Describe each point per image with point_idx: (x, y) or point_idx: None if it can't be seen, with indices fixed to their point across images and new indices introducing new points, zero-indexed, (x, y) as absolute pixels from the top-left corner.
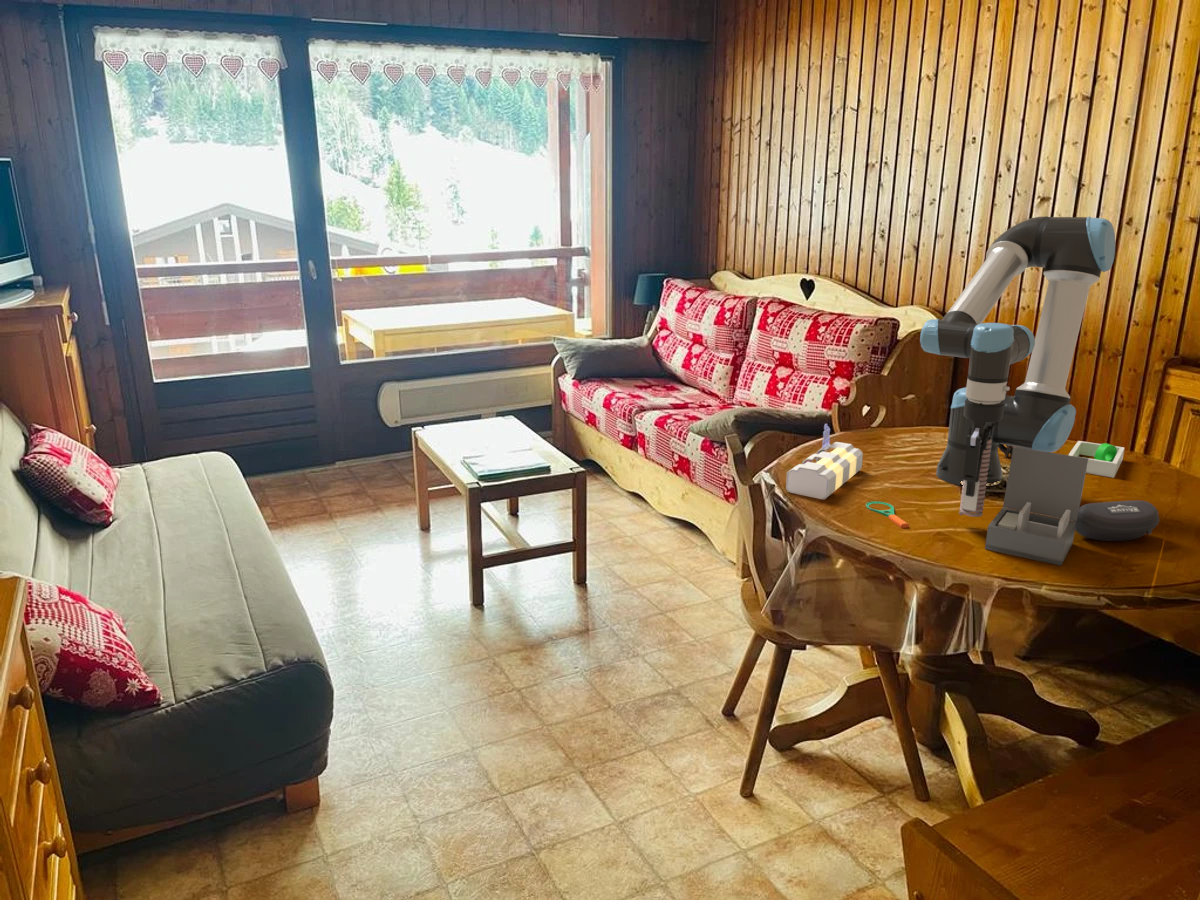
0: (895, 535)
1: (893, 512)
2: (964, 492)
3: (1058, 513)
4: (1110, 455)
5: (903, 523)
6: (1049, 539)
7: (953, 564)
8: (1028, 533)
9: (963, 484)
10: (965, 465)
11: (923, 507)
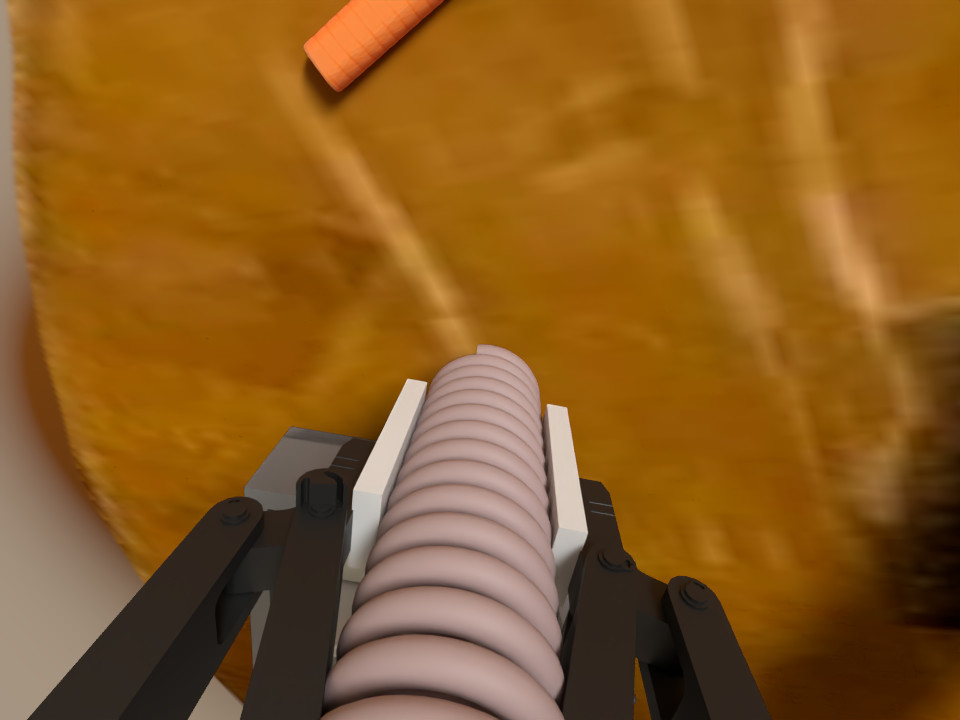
0: (204, 37)
1: None
2: (381, 433)
3: None
4: None
5: (309, 57)
6: (254, 652)
7: (65, 335)
8: (259, 606)
9: (437, 442)
10: (124, 619)
11: (719, 125)
